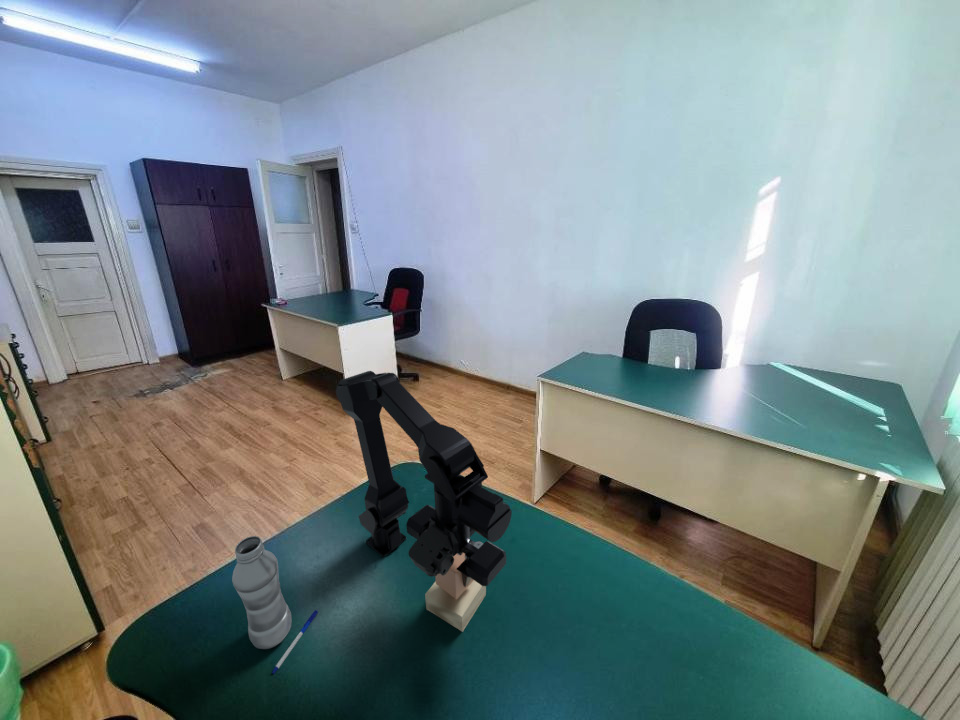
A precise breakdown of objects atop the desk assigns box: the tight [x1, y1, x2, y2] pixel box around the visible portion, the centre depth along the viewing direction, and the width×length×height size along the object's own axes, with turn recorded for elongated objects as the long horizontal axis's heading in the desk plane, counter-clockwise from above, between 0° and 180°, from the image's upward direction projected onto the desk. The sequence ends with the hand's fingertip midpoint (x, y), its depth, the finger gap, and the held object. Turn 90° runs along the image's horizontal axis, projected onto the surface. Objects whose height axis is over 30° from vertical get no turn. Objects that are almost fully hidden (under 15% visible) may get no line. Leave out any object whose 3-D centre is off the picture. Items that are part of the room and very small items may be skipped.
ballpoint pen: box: [271, 609, 318, 675], centre depth 63 cm, size 10×1×1 cm, turn 166°
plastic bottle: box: [231, 535, 292, 650], centre depth 61 cm, size 6×7×20 cm
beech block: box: [424, 580, 487, 633], centre depth 69 cm, size 8×8×4 cm
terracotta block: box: [434, 553, 474, 600], centre depth 67 cm, size 5×5×6 cm
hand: (455, 576), depth 68 cm, fingers closed on terracotta block, 5 cm apart
